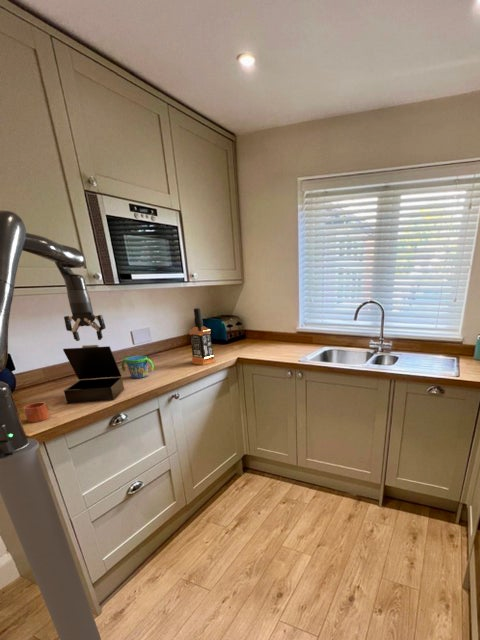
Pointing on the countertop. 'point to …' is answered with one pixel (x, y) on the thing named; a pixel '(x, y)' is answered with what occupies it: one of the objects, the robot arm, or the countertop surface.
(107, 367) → the lid
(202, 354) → the whiskey bottle
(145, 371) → the snack cup
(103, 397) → the black box base
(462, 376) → the countertop surface
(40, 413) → the orange clay pot
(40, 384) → the countertop surface
